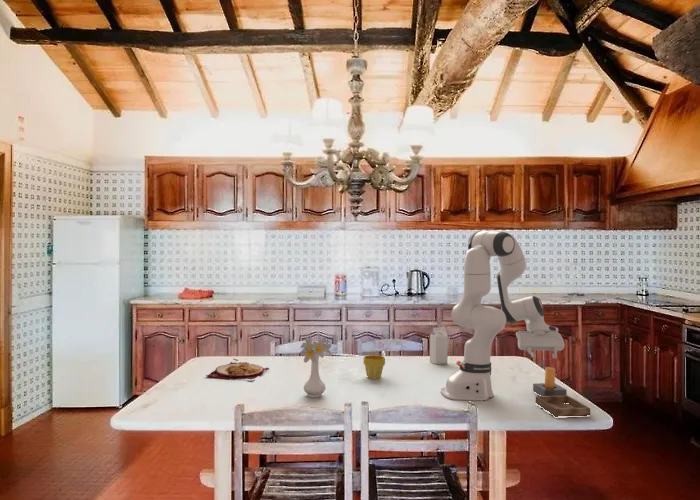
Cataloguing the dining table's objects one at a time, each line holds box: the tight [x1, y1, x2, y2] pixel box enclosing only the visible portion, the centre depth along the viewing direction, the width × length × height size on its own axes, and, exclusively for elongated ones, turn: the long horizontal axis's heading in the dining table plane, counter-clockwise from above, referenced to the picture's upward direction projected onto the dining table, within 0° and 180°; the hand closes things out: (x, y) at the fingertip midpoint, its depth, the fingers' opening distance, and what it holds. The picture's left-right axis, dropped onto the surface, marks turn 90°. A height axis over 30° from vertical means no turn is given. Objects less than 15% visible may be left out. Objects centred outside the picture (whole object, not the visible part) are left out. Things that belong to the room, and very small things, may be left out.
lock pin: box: [544, 366, 556, 388], centre depth 225 cm, size 4×4×12 cm
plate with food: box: [205, 358, 270, 382], centre depth 256 cm, size 25×26×4 cm
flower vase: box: [299, 334, 332, 399], centre depth 220 cm, size 13×18×25 cm
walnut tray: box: [534, 395, 591, 417], centre depth 206 cm, size 14×16×4 cm
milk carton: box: [429, 327, 449, 365], centre depth 281 cm, size 7×7×19 cm
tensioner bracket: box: [532, 382, 568, 396], centre depth 225 cm, size 10×10×4 cm
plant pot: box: [363, 354, 386, 380], centre depth 251 cm, size 10×10×10 cm
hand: (544, 357), depth 232 cm, fingers open, 8 cm apart
